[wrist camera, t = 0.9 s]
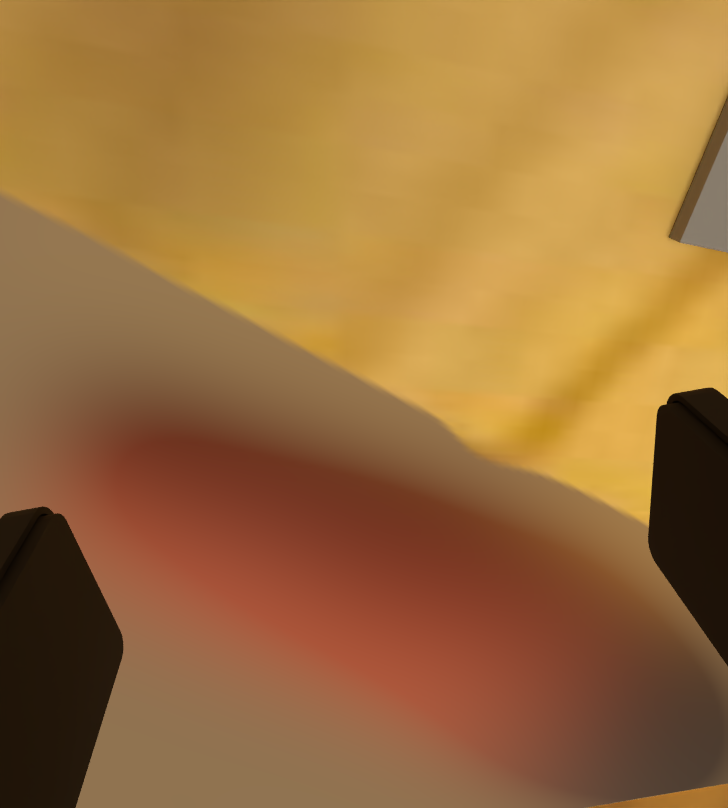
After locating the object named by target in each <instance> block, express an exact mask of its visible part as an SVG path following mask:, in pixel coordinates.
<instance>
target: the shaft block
mask: <svg viewBox="0 0 728 808" xmlns="http://www.w3.org/2000/svg"><path fill="white" fill-rule="evenodd" d="M669 238H671V239H673V240H676V241H678V242H680V243H685V244H690V245H694V246H699V247H704V248H709V249H714V250H718V251H723V252H728V98H727V101H726V103H725V105H724V108H723V110H722V113H721V115H720V117H719V120H718V122H717V124H716V127H715V129H714V132H713V134H712V136H711V139H710V141H709V143H708V146H707V148H706V151H705V153H704V155H703V158H702V160H701V163H700V165H699V167H698V170H697V172H696V174H695V177H694V179H693V182H692V184H691V186H690V189H689V191H688V193H687V196H686V198H685V201H684V203H683V205H682V208H681V210H680V213H679V215H678V217H677V220H676V222H675V224H674V227H673V229H672V232H671V234H670V236H669Z"/></svg>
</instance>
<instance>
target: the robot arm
mask: <svg viewBox="0 0 728 808" xmlns="http://www.w3.org/2000/svg"><path fill="white" fill-rule="evenodd" d="M648 535H649V536H648V543H649V548H650V551H651V554H652V557H653V559H654V561H655V563H656V564H657V566H658V567H659V568H660V570H661V571H662V573H663V574H664V576H665V577H666V578H667V580H668V581H669V583H670V584H671V585H672V587H673V588H674V590H675V591H676V593H677V594H678V596H679V597H680V598H681V600H682V601H683V603H684V604H685V606H686V607H687V608H688V610H689V611H690V613H691V614H692V616H693V617H694V618H695V620H696V621H697V623H698V624H699V626H700V627H701V628H702V630H703V631H704V633H705V634H706V636H707V637H708V638H709V640H710V641H711V643H712V644H713V646H714V647H715V648H716V650H717V651H718V653H719V654H720V656H721V657H722V658H723V660H724V661H725V663H726V664H727V666H728V399H727V398H726V397H725V396H724V395H722V394H721V393H720V392H718V391H717V390H715V389H714V388H703V389H698V390H692V391H686V392H681V393H675V394H672V395H671V396H670V397H669V399H668V401H667V405H662V406H660V407H659V409H658V412H657V421H656V435H655V449H654V463H653V477H652V491H651V506H650V520H649V534H648ZM122 654H123V639H122V634H121V632H120V629H119V628H118V625H117V623H116V621H115V619H114V617H113V615H112V613H111V611H110V609H109V607H108V605H107V603H106V601H105V599H104V597H103V595H102V593H101V590H100V588H99V587H98V584H97V582H96V580H95V578H94V576H93V574H92V572H91V570H90V568H89V566H88V564H87V562H86V560H85V558H84V556H83V554H82V552H81V550H80V547H79V545H78V543H77V541H76V539H75V537H74V535H73V533H72V531H71V529H70V527H69V525H68V523H67V521H66V519H65V518H64V516H62V515H61V514H54V513H53V512H52V511H51V510H50V509H49V508H47V507H38V508H32V509H27V510H21V511H16V512H10V513H7V514H4V515H3V516H2V518H1V519H0V808H75V807H76V804H77V801H78V797H79V794H80V791H81V788H82V785H83V782H84V778H85V775H86V771H87V769H88V765H89V762H90V759H91V756H92V752H93V749H94V746H95V742H96V740H97V736H98V733H99V730H100V727H101V724H102V720H103V717H104V714H105V710H106V707H107V704H108V701H109V698H110V695H111V691H112V688H113V685H114V682H115V678H116V675H117V672H118V669H119V665H120V662H121V659H122ZM588 808H728V784H723V785H717V786H711V787H705V788H699V789H693V790H688V791H681V792H676V793H670V794H664V795H658V796H652V797H646V798H641V799H634V800H629V801H623V802H617V803H611V804H606V805H599V806H593V807H588Z"/></svg>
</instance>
